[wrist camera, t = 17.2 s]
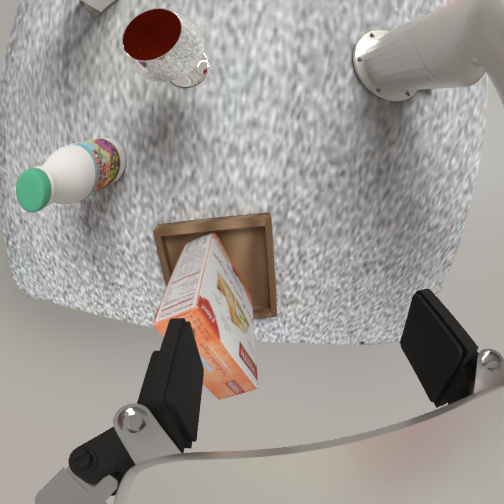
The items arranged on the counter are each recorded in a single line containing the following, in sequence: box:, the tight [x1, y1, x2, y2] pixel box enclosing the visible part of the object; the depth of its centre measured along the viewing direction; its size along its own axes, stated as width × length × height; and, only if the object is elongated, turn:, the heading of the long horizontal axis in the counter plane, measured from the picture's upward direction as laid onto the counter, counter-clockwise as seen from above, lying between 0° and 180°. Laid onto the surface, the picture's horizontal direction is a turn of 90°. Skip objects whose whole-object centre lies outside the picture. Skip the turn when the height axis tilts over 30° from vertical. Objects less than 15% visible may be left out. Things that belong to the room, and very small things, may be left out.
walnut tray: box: [153, 213, 277, 319], centre depth 47 cm, size 18×18×3 cm
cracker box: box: [152, 231, 258, 399], centre depth 38 cm, size 14×6×21 cm, turn 25°
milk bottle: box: [16, 138, 126, 212], centre depth 31 cm, size 8×8×20 cm
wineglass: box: [122, 8, 209, 87], centre depth 26 cm, size 8×8×18 cm
